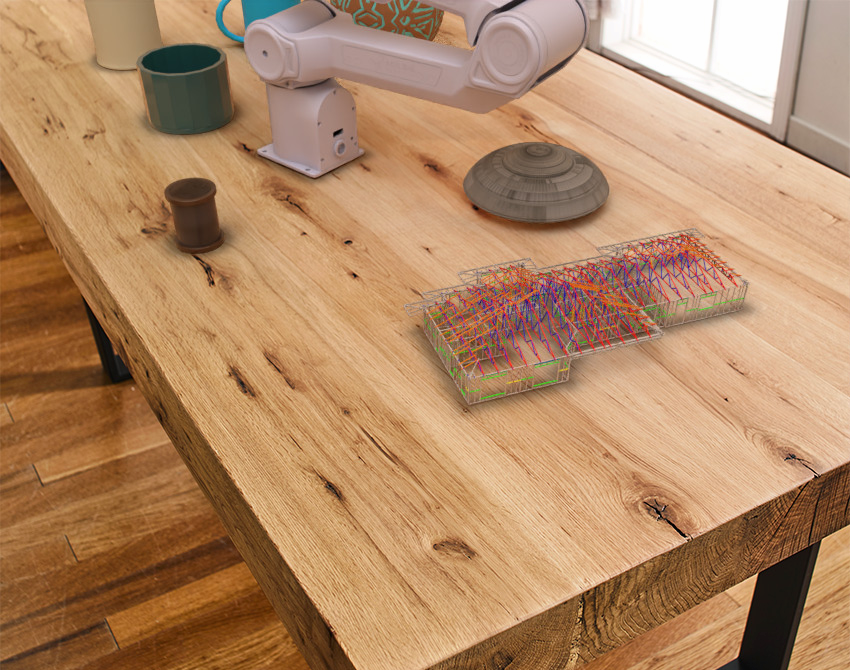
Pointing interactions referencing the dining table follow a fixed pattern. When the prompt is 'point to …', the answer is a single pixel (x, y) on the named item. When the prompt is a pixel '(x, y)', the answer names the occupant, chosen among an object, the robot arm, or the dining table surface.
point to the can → (123, 31)
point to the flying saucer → (536, 183)
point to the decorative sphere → (394, 16)
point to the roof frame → (577, 285)
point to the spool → (194, 215)
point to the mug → (252, 13)
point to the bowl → (186, 88)
